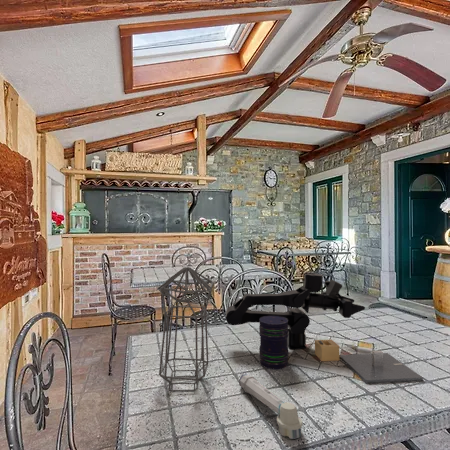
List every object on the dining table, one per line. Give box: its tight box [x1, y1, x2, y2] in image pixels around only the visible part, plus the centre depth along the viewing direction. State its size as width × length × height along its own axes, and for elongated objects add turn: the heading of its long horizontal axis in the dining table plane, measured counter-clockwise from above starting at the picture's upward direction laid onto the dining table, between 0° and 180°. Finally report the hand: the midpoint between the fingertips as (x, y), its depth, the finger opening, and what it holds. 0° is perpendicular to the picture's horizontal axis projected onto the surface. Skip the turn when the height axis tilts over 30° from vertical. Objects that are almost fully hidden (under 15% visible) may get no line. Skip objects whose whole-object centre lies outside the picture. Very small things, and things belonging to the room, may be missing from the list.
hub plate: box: [339, 350, 424, 384], centre depth 102 cm, size 18×18×6 cm
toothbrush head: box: [238, 373, 303, 440], centre depth 79 cm, size 5×7×25 cm
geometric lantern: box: [156, 266, 214, 392], centre depth 93 cm, size 16×16×35 cm
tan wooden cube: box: [314, 338, 340, 362], centre depth 111 cm, size 6×6×6 cm
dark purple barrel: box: [258, 315, 289, 371], centre depth 106 cm, size 10×10×15 cm
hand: (359, 304), depth 122 cm, fingers open, 9 cm apart
